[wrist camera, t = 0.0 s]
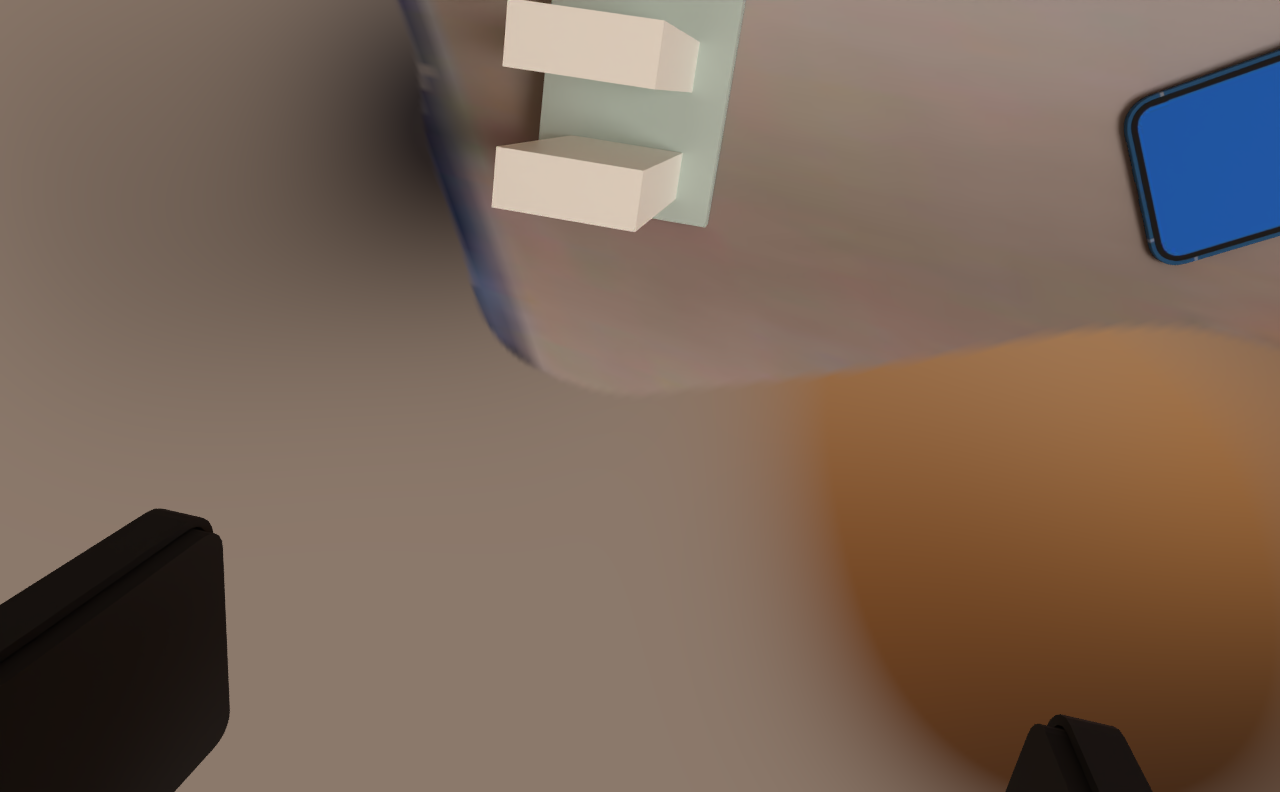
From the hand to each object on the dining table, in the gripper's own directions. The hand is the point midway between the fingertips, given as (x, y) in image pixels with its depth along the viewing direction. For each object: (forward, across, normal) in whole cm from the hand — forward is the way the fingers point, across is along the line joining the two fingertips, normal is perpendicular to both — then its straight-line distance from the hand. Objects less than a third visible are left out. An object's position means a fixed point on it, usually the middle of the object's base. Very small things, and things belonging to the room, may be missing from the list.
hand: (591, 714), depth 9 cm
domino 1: (+30, +6, -8) cm, 32 cm away
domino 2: (+30, +6, -3) cm, 31 cm away
